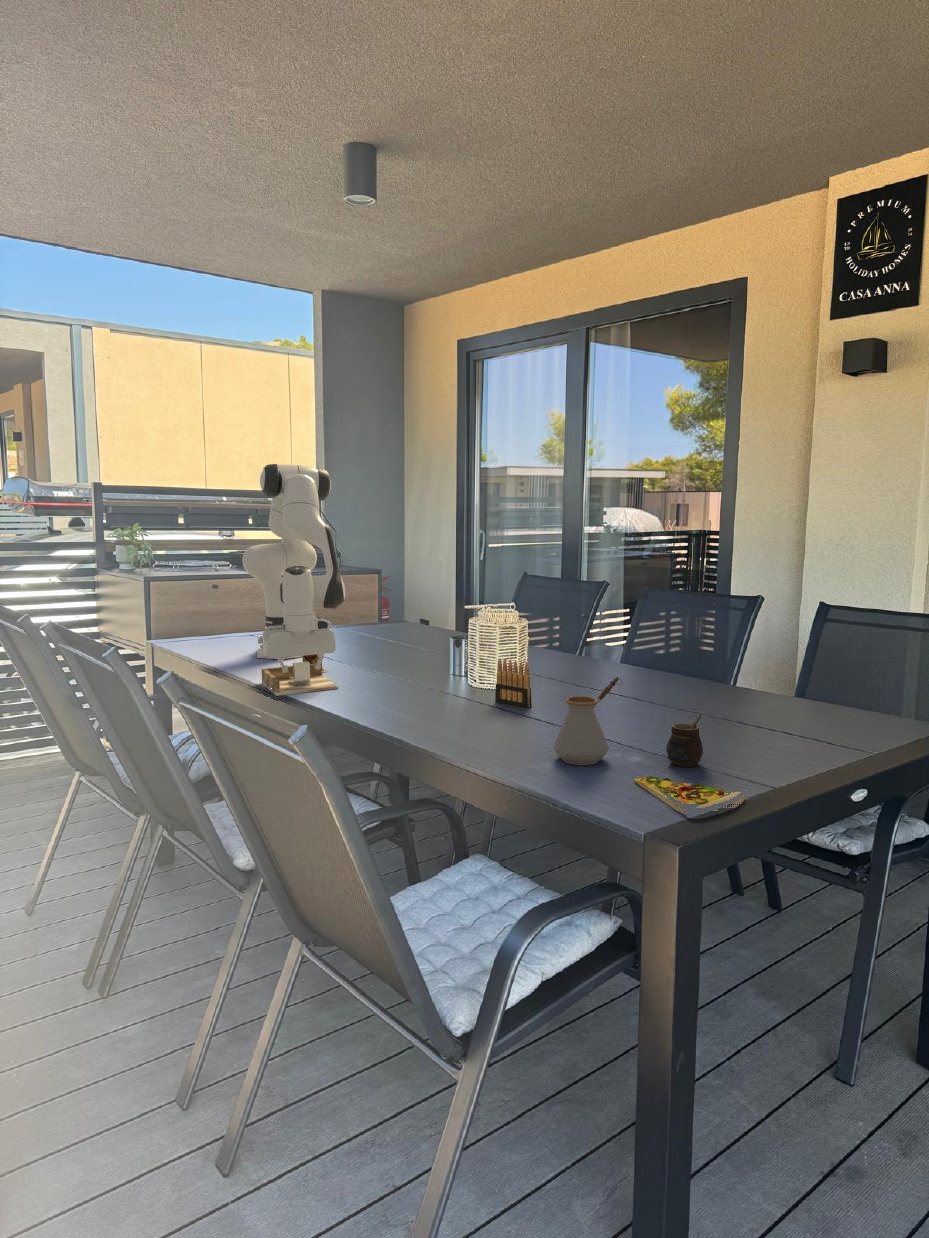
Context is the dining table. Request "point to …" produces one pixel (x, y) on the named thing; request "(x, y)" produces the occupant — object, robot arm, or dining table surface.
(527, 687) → the ammunition clip
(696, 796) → the pizza slice
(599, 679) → the dining table surface
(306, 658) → the condiment
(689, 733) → the mate gourd
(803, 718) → the dining table surface
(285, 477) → the robot arm
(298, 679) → the bracket
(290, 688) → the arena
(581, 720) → the coffee pot
